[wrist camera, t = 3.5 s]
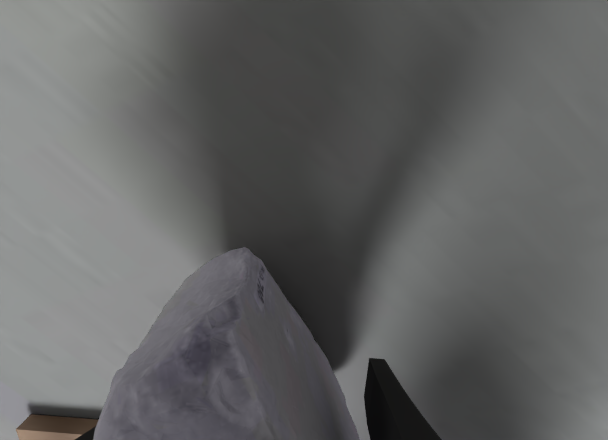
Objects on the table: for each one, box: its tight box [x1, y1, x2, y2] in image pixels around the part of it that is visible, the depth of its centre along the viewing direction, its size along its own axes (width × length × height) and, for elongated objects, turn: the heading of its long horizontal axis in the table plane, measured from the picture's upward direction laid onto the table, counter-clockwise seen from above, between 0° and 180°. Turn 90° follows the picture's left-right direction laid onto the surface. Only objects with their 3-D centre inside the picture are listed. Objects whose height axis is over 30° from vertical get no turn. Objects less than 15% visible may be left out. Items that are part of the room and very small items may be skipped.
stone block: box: [93, 247, 360, 440], centre depth 11 cm, size 12×5×10 cm, turn 23°
